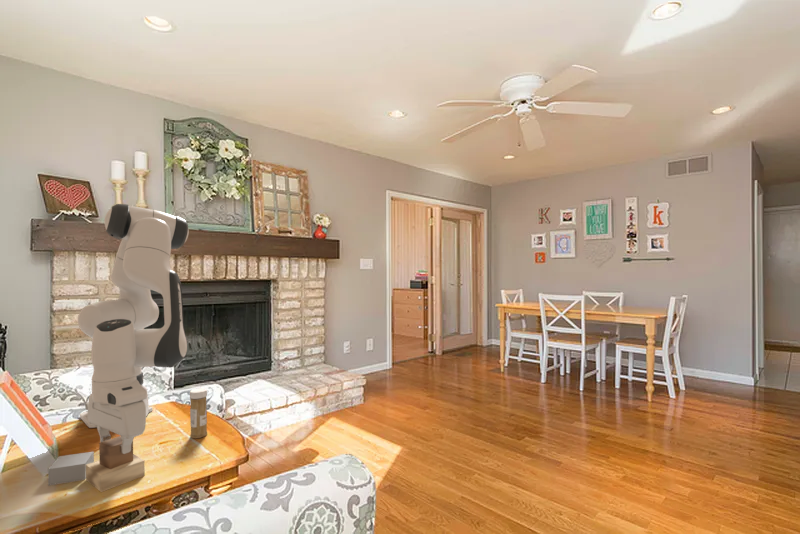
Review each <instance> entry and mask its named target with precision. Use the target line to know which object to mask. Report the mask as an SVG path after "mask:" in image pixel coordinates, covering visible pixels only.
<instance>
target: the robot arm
mask: <svg viewBox="0 0 800 534" xmlns="http://www.w3.org/2000/svg"><path fill="white" fill-rule="evenodd" d="M104 227H105V232H106V233H107V234H108V236H110V237H112V238H115V239H117V240H120V243H119V246H118V249H117V253H116V256H115V259H114V260H115V261H114V264H113V268H112V271H111V275H110V279H111V282H112V283H113V284H114V285H115V286H116V287H117V288H118V289H119V296H118V298H117V299H110V300H100V301H97V302H94V303H90V304H89V305H85V306H84V307H82V309H81V310H79V311H80V312H79V313H78V316H77V325H78V328H79V329H80V331H81V332H82V333H83V334H84V335H86V336H88V337H89V338H91V339H92V342H91V356H90V357H91V364H92V366H93V367H92V368H93V373H92V376H91V393H90V394H89V397H88V402H85V405H84V407H85V410H86V411H82V412H81V413H80V414H79V419H80V420H82V421H83V422H84V424H85V426H87V427H88V428H89V429H93V428H96V429H97V432H98V435H99V443H100V442H103V441H107V440H110V439H112V435H111V433H114V434H115V435H118V436H121V439H122V440H123V441H122V445H120V452H121V453H123V454H126V453H129V452H130V451H131V444H132V441H133V442H134V438H135V437H140V436H141V435H143V433H144V432H145V430H146V425H147V416H148V415H149V413H151V412H153V407H152V406H150V405H149V397H148V394H149V393H148V388H147V387H146V386H145V385H144V378H145V376H144V372H142V368H147V367H150V368H151V367H157V368H168V369H169V368H170V369H171V368H173V367H176V365H179V363H181V362H182V361H183V360H184V359H185V357H186V355H187V351H188V344H187V343H188V342H187V335H186V331H185V318H184V317H185V316H184V305H183V304H184V303H183V301H184V300H183V291H182V282H181V279H180V276H179V274H178V273H177V272H176V271H175V270H172V269H173V268H172V267H171V261H170V260H171V252H172V250H177V249H180V248H181V247H184V245H185V243H186V242H187V240H188V238H189V224H188V222H187V220H186V219H185V218H182V217H180V216H178V215H172V214H170V213H166V212H164V211H160V210H156V209H149V208H145V207H140V206H135V205H129V204H126V203H117V204H114V205H112V206H111V208H110V209H109V210H108V211H107V212H106V214H105V216H104ZM151 291H154V292H156V293H158V294H160V295H161V296H162V298H163V299H162V300H163V318H164V325H163V326H162V327H159V328H147V327H150V326H151V325H154V324H155V323H156V322H157V321H158V318H159V315H160V309H159V306H158V304H157V303H156V301H154V299H153V297H152V294H151V293H152V292H151ZM110 432H111V433H110Z"/></svg>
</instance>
